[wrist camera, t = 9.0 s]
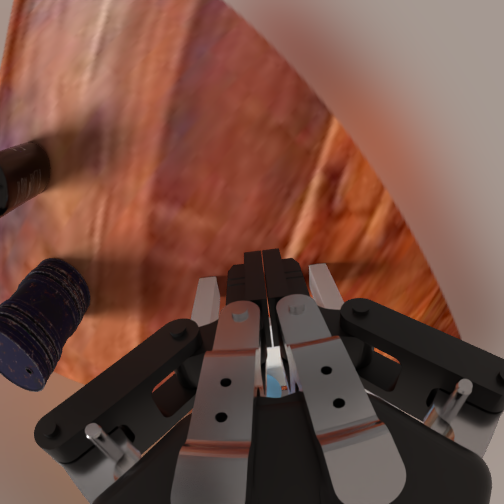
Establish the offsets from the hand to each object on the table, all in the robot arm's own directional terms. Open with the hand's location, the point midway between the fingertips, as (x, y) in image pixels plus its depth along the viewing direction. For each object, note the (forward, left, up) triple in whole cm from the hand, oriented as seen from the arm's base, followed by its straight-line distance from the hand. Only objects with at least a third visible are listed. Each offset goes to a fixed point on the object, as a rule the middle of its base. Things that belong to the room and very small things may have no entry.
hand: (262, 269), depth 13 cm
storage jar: (+11, -28, -19) cm, 36 cm away
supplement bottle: (-6, -26, -19) cm, 33 cm away
